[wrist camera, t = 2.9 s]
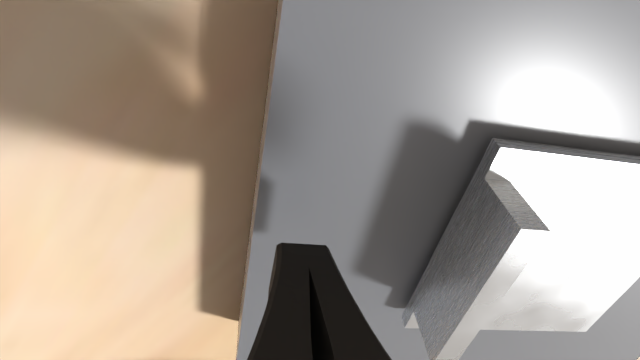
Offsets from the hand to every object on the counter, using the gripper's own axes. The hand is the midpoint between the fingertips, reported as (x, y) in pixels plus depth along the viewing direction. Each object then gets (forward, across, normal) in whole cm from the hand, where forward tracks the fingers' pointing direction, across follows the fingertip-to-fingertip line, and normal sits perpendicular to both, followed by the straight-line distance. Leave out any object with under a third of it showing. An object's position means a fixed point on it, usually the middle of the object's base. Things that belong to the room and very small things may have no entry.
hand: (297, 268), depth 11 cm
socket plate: (+4, -9, 0) cm, 10 cm away
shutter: (+1, -9, 0) cm, 9 cm away
